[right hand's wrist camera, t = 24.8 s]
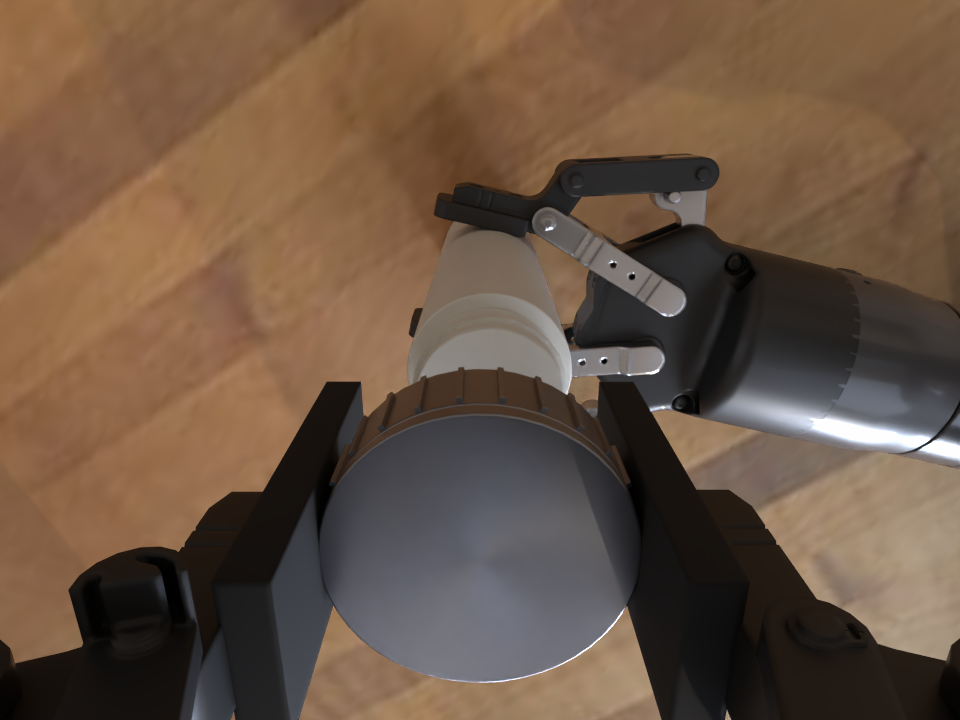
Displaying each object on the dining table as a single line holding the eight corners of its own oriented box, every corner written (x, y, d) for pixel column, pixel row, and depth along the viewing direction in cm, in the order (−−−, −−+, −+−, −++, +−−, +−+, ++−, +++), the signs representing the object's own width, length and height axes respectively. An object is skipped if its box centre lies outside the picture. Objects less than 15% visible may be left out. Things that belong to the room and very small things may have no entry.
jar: (427, 254, 33) (363, 409, 16) (482, 185, 32) (477, 273, 15) (493, 307, 34) (500, 506, 17) (549, 243, 33) (618, 388, 16)
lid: (485, 654, 14) (485, 733, 12) (277, 502, 12) (244, 566, 11) (683, 493, 12) (717, 556, 10) (473, 301, 11) (471, 337, 9)
